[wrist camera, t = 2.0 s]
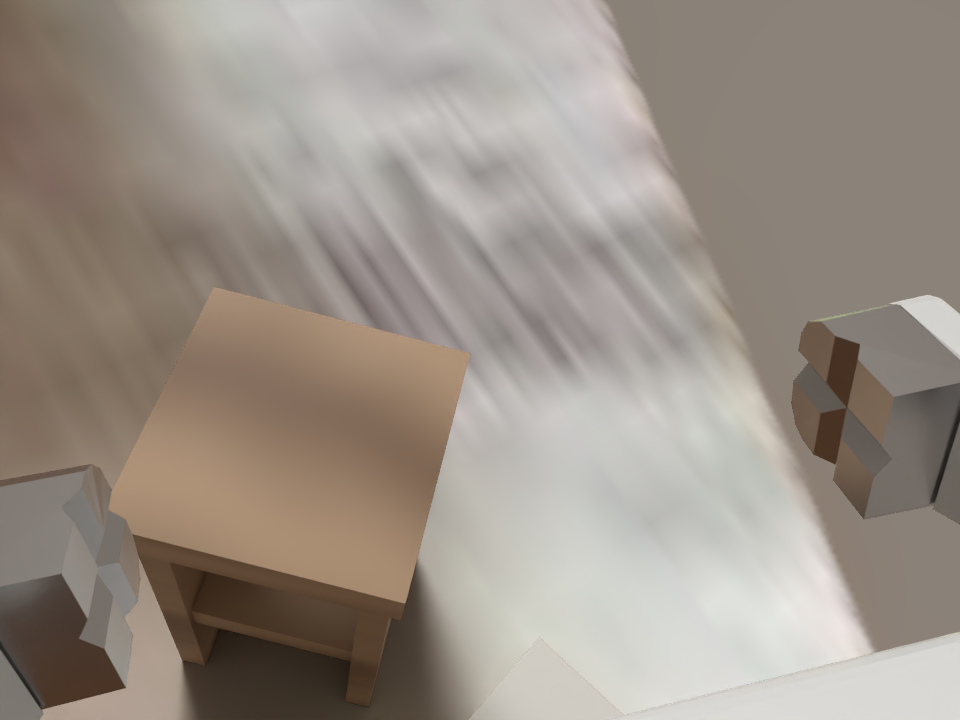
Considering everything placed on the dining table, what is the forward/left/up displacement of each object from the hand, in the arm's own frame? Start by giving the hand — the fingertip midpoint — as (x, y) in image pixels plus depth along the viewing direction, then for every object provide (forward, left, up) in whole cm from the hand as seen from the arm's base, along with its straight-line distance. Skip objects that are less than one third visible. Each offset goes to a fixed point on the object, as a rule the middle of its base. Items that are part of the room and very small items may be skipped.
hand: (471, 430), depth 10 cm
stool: (+2, +6, -22) cm, 23 cm away
